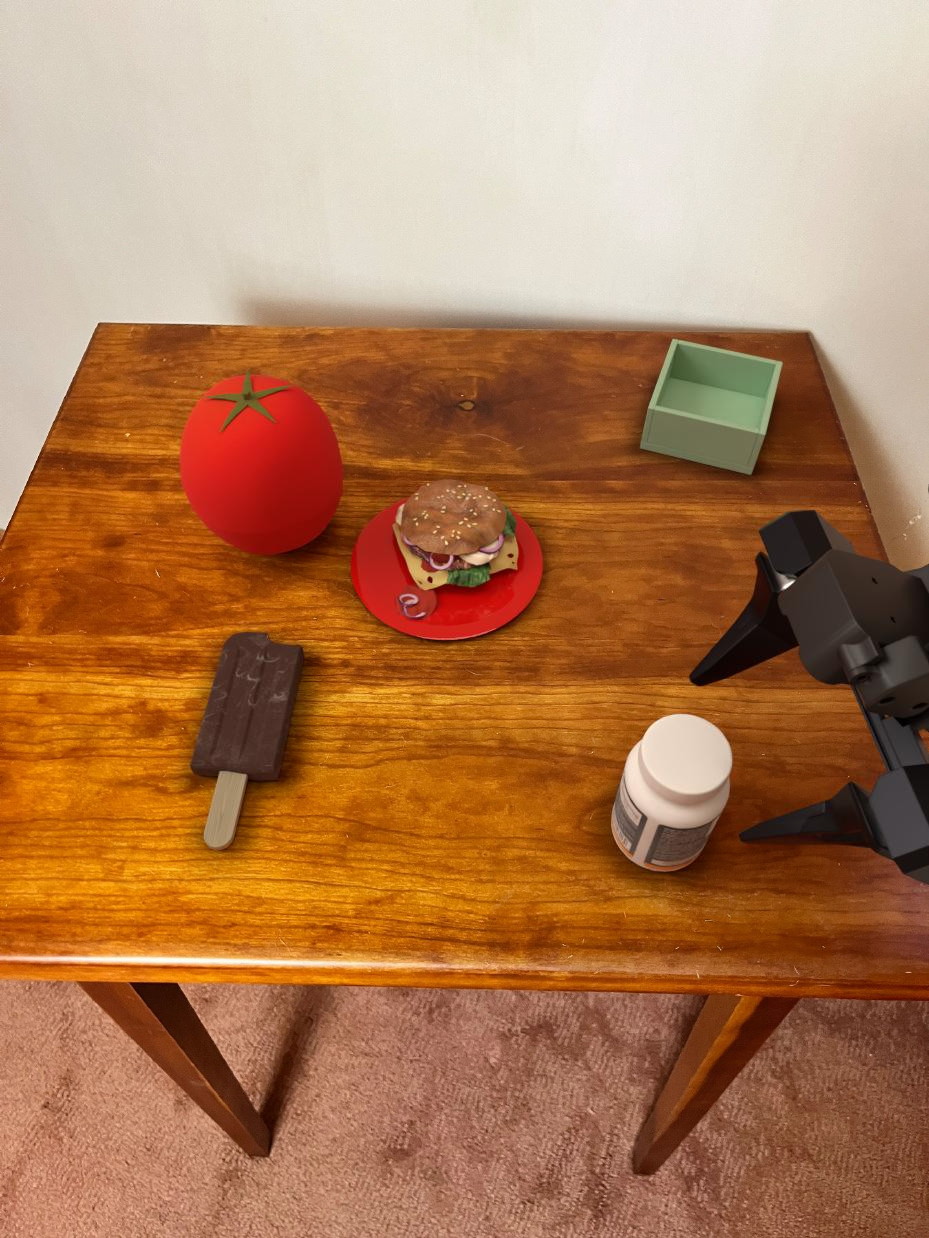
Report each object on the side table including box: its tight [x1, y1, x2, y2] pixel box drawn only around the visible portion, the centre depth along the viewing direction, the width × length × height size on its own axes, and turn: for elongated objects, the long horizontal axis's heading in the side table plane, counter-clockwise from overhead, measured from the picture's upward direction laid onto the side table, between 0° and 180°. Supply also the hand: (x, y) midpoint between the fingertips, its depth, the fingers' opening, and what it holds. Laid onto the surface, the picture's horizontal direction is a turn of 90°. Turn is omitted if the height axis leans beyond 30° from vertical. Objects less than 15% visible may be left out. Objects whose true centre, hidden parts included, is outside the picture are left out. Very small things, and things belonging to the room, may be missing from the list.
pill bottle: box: [610, 713, 734, 873], centre depth 51 cm, size 6×6×10 cm
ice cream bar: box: [189, 631, 305, 851], centre depth 58 cm, size 5×2×15 cm
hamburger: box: [350, 478, 544, 641], centre depth 64 cm, size 14×14×6 cm
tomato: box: [179, 368, 344, 556], centre depth 64 cm, size 11×11×13 cm
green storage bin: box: [639, 338, 783, 476], centre depth 74 cm, size 9×9×4 cm
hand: (716, 756), depth 48 cm, fingers open, 9 cm apart
